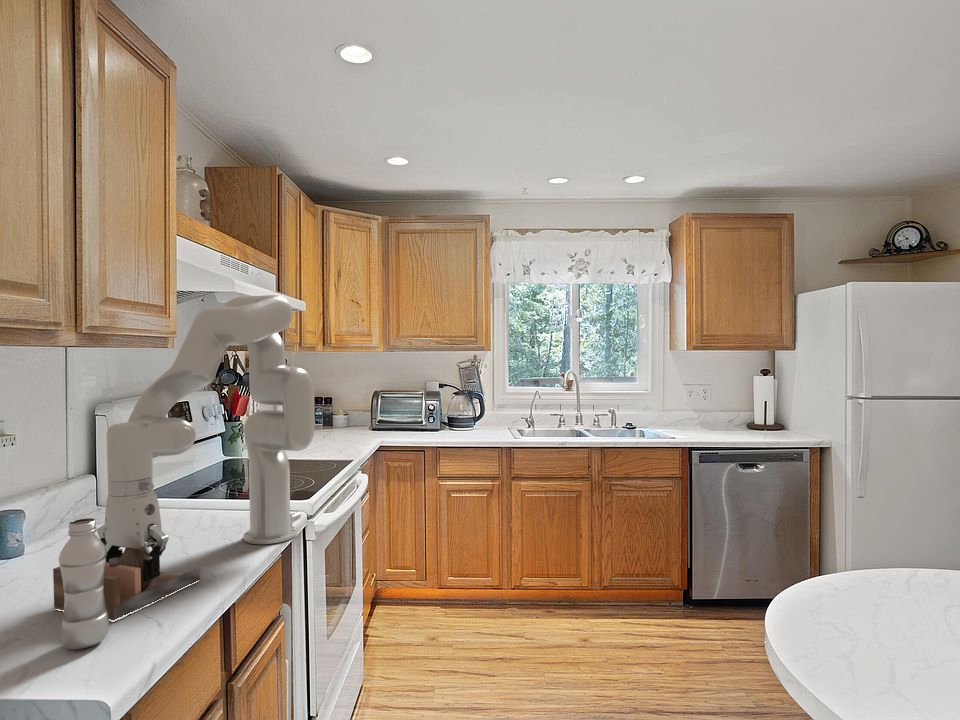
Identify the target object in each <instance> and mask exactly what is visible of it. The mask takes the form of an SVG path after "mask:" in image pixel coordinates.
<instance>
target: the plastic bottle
mask: <svg viewBox="0 0 960 720" xmlns="http://www.w3.org/2000/svg"><path fill="white" fill-rule="evenodd" d="M97 529H98V528H97V522H96V518H93V517H85V518H84V517H83V518H79V519H75V520H72V521H70V522H69V523H68V531H67V535H68V536H69V537H70V538H69V539H68V540H67V542H66V543H65V544H64V545H63V547H62V549H61V551H60V552H59V556H58V563H59V564H58V565H59V567H60V570H61V575H62V579H63V588H64V598H65V601H64V612H63V619H62V623H61V628H60V638H61V641H62V644H63V646H65V647H66V648H67V649H69V650H83V649H87V648H90V647H92V646H93V647H94V646H96V645H97V644H99V643H101V642H102V641H103V640H104V639H105V638H106V636H107V634H108V633H109V627H110V622H109V619H108V614H107V611H106V607H105V599H104V592H103V588H104V585H103V583H104V568H105V562H106V548H105V545H104V544H103V542H102V541H101V540H100V538H99V536H97V535H96V533H97Z"/></svg>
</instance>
